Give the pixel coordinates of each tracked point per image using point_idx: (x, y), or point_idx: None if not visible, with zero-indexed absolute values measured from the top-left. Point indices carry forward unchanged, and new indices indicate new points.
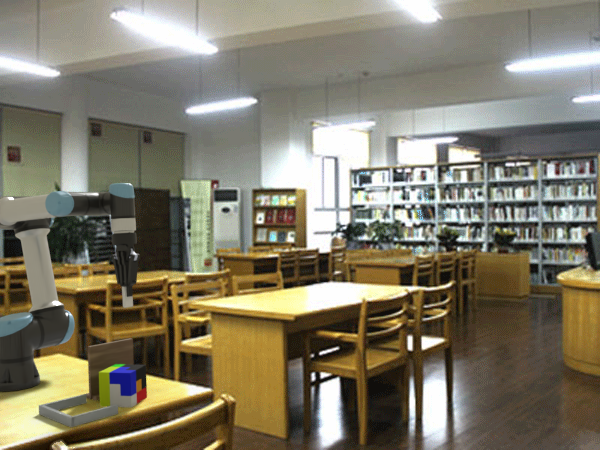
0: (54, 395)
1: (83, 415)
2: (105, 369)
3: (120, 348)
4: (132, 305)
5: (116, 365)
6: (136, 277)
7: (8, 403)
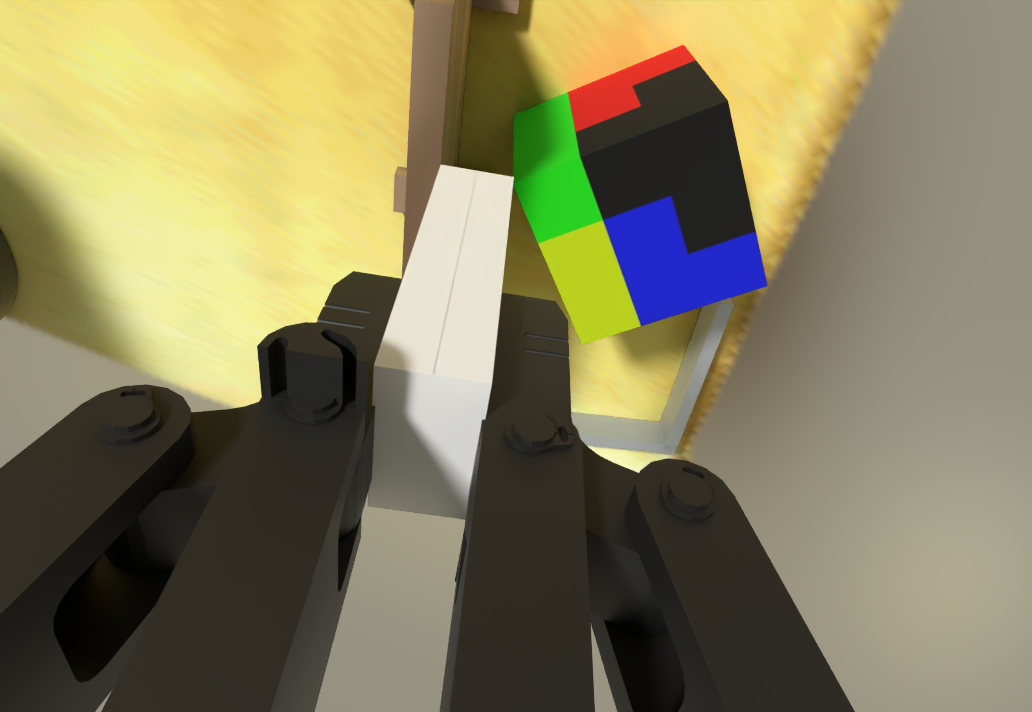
0: (236, 250)
1: (686, 417)
2: (567, 296)
3: (447, 124)
4: (510, 192)
5: (548, 206)
6: (801, 634)
7: (211, 390)
